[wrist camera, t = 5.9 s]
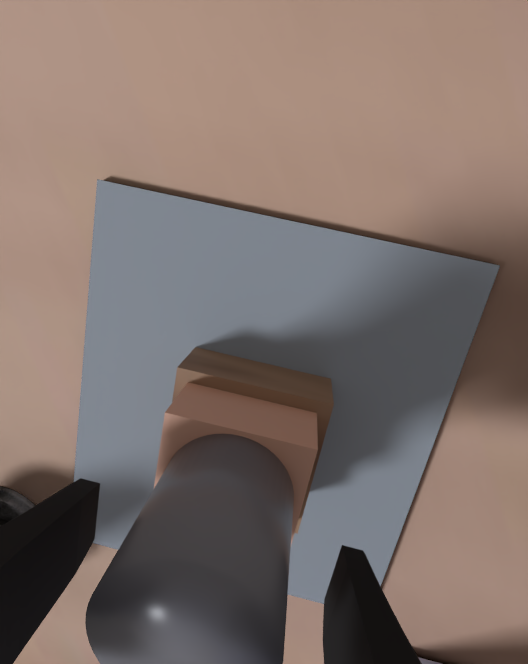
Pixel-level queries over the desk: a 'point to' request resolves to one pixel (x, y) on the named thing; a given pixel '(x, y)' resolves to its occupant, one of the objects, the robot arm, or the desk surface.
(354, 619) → the robot arm
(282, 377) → the tower base
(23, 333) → the desk surface
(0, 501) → the salt shaker
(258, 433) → the tower middle
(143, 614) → the dark grey cylinder
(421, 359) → the mat
